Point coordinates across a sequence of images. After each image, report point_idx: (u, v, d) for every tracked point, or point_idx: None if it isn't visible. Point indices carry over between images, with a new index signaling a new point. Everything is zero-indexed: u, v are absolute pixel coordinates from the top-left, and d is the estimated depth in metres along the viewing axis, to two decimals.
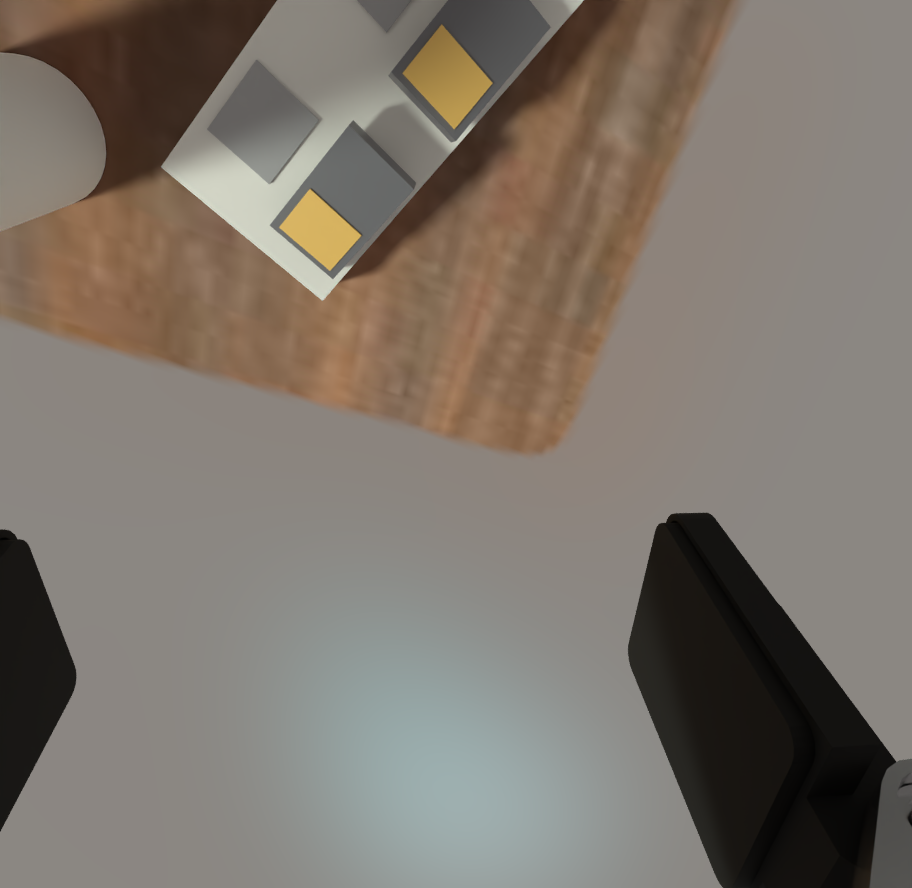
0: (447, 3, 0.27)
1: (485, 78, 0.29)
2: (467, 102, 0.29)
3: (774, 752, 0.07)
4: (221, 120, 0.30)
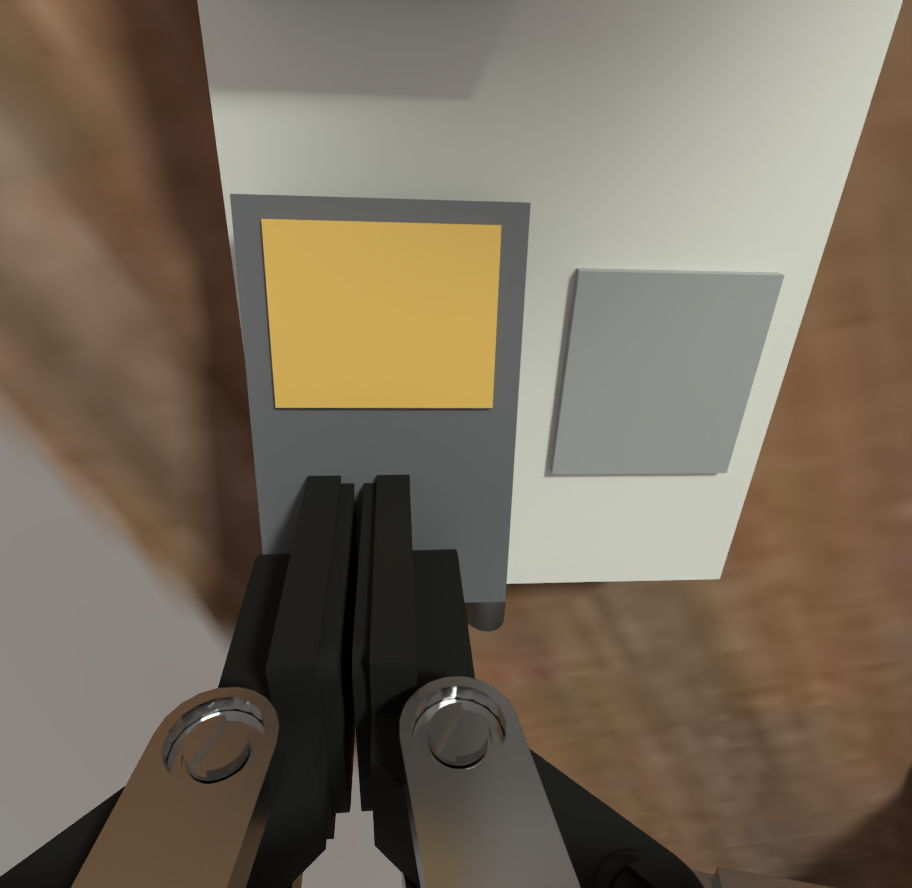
0: None
1: None
2: None
3: None
4: None
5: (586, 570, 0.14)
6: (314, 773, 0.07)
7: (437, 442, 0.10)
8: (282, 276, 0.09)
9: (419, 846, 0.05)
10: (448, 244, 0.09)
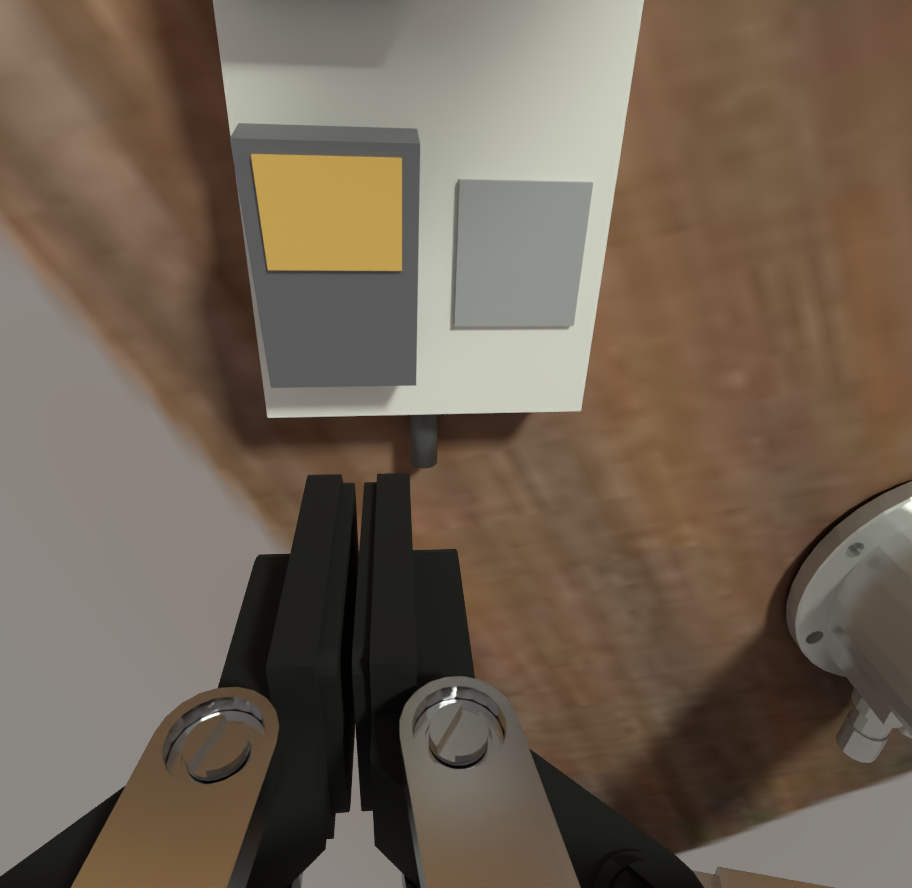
0: None
1: None
2: None
3: None
4: None
5: (486, 403, 0.20)
6: (314, 773, 0.07)
7: (369, 291, 0.16)
8: (266, 190, 0.14)
9: (419, 846, 0.05)
10: (369, 169, 0.14)
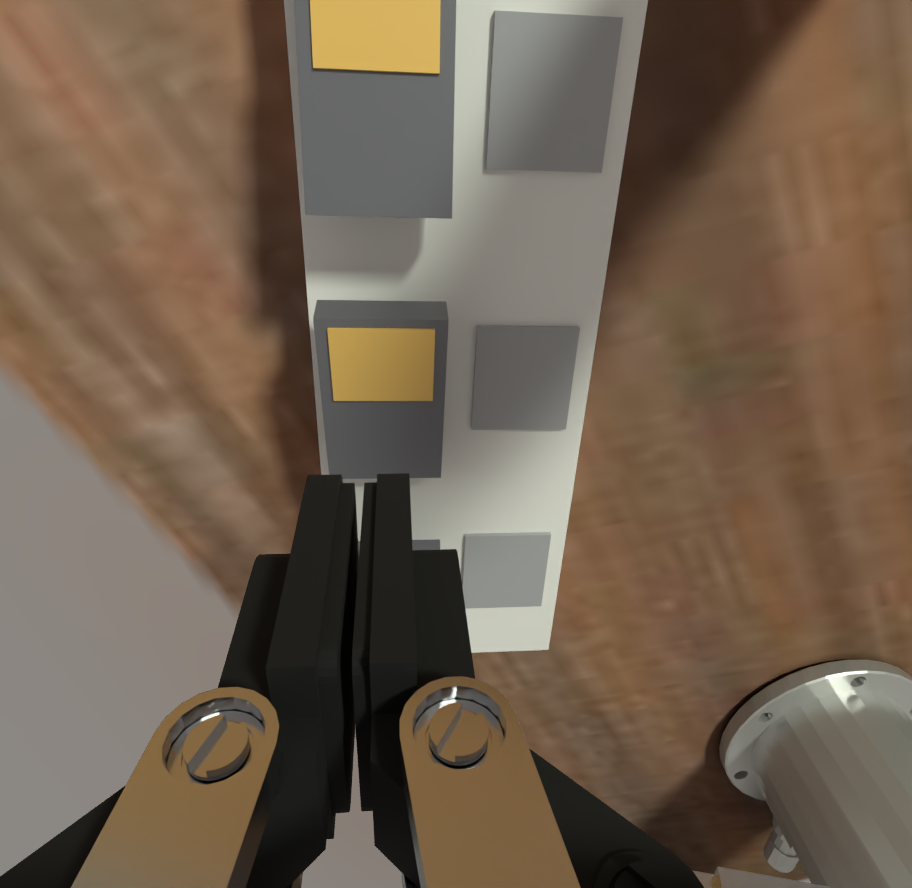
0: (441, 417, 0.21)
1: (345, 398, 0.20)
2: (340, 364, 0.19)
3: None
4: (608, 50, 0.18)
5: (482, 646, 0.30)
6: (314, 773, 0.07)
7: None
8: None
9: (419, 846, 0.05)
10: None
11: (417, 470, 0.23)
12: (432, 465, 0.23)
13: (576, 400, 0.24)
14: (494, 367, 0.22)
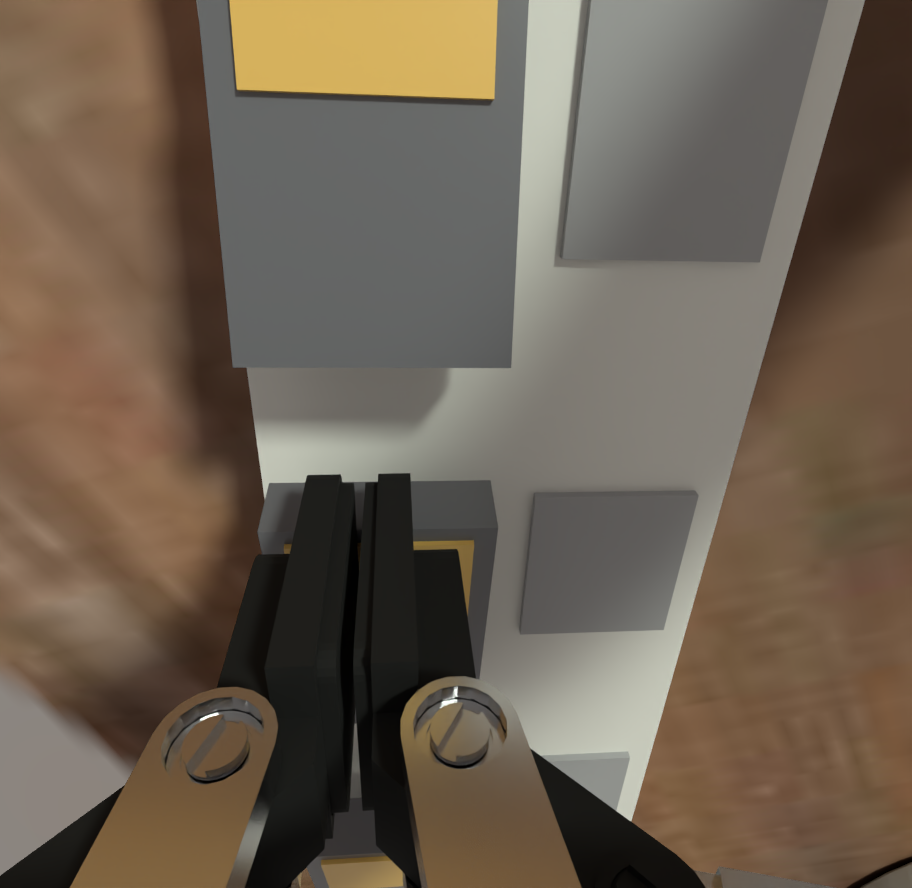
0: (479, 652, 0.13)
1: None
2: None
3: None
4: (796, 51, 0.10)
5: None
6: (313, 772, 0.07)
7: None
8: (333, 872, 0.15)
9: (421, 845, 0.05)
10: None
11: None
12: None
13: (681, 589, 0.15)
14: (559, 552, 0.14)
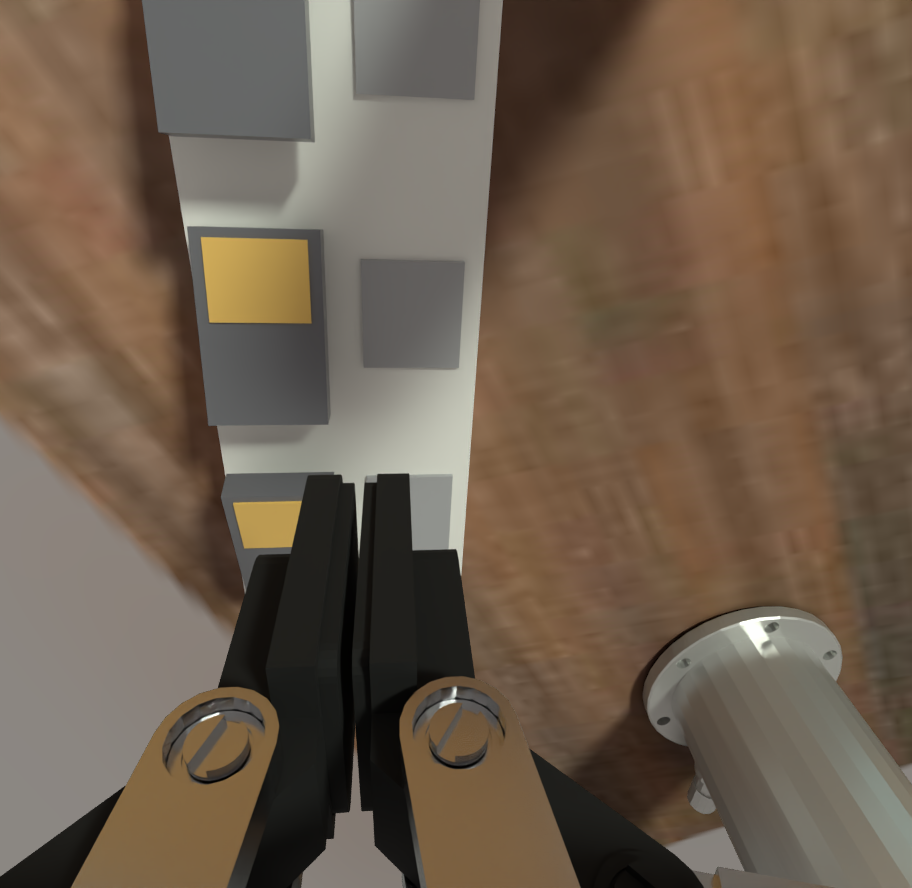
0: (322, 346, 0.21)
1: (221, 319, 0.20)
2: (215, 278, 0.20)
3: None
4: None
5: None
6: (314, 773, 0.07)
7: None
8: (242, 517, 0.24)
9: (419, 845, 0.05)
10: None
11: (302, 415, 0.22)
12: (317, 407, 0.22)
13: (468, 338, 0.24)
14: (381, 302, 0.22)
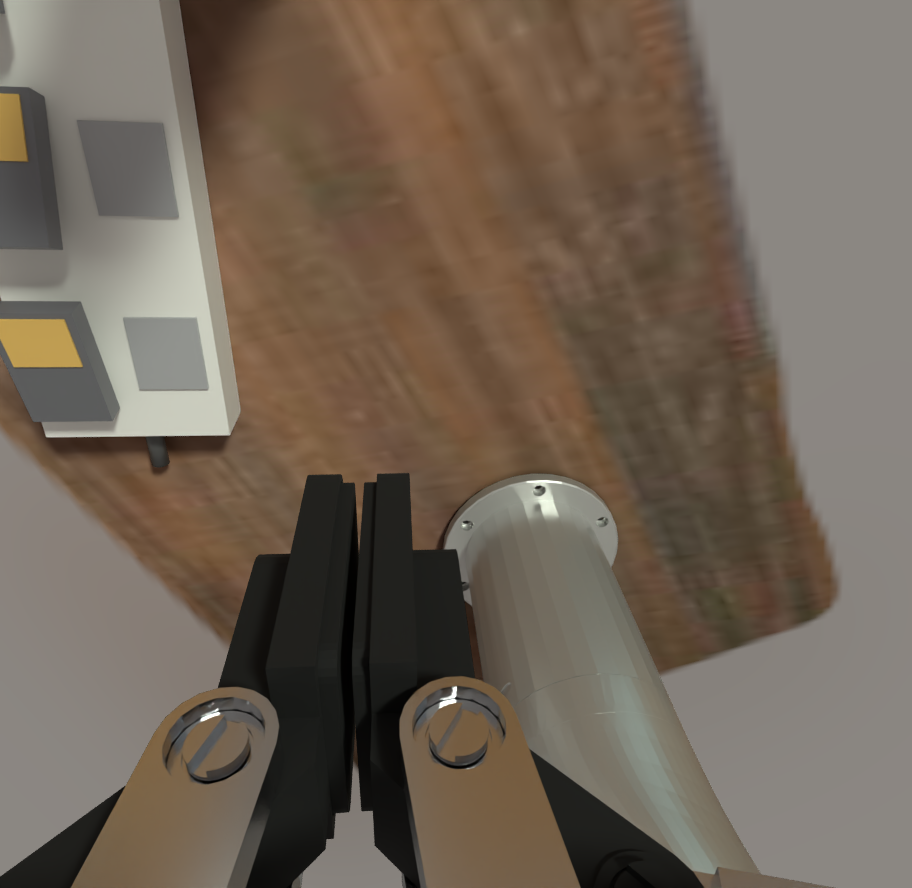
0: (38, 180, 0.27)
1: None
2: None
3: None
4: None
5: (171, 430, 0.36)
6: (314, 773, 0.07)
7: (69, 375, 0.32)
8: (2, 334, 0.30)
9: (419, 846, 0.05)
10: (50, 324, 0.30)
11: (27, 239, 0.27)
12: (39, 233, 0.27)
13: (182, 191, 0.30)
14: (101, 157, 0.29)
